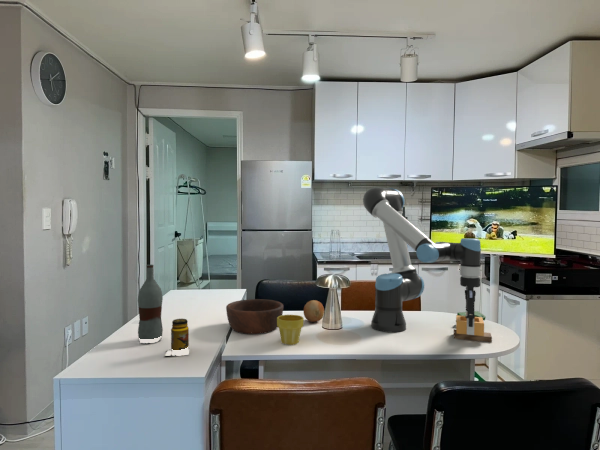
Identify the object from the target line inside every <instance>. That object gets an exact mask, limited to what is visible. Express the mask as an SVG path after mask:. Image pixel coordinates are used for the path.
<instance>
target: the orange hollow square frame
mask: <svg viewBox="0 0 600 450" xmlns="http://www.w3.org/2000/svg"><path fill="white" fill-rule="evenodd" d="M455 319H456V320H455V330H456V332H457V334H467V318H465V316H459V315H457V314H456V315H455ZM484 321H485V320H483V318H482V317H475V318H474V335H478V336H484V332H485V322H484Z"/></svg>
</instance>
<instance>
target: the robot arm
mask: <svg viewBox="0 0 600 450" xmlns="http://www.w3.org/2000/svg"><path fill="white" fill-rule="evenodd" d="M405 201H406V200H405V197H404V195H403V193H402V191H400V190H398V189H395V188H393V187H378V186H376V187H370V188H369V189H367V190H366V191H365V193H364V194H363V198H362V203H363V206H364V208H365V210H366V211H367V212H368V214H370V215H371V217H373V218H378V219H379V220H380V221H381V222H382V224H383V229H384V232H385V236H386V242H387V245H388V246H387V247H388V250H389V255H390V260H391V265H392V269H393V270H392V271H391V272H390V273H382V274H379V275H377V276H376V278H375V285H374V287H375V289H374V290H375V301H374V302H375V303H374V305H375V309H374V312H373V315H372V319H371V321H370V322H371V325H370V327H371V328H372V329H373V330H376V331H380V332H385V333H386V332H387V333H397V332H403V331H405V330H407V322H406V320H405V316H404V313H403V302H406V301H412V300H415V299H417V298H419V297H421V295H422V294H423V293H424V291H425V281H424V279H423V277H422V276H420V274H418V272H417V268H416V267H414V266H413V265H412V261H411V257H410V252H409V249H408V245H409V247H411V249H413V250H414V251H415V252H416V257H417V259H418V260H419V261H420V262H422V263H426V264H427V263H429V264H430V263H431V264H432V263H436V262H443V261H444V262H445V261H457V262H460V265H459V267H460V269H459V275H460V278H459V280H460V284H459V285H460V286H461V287H465V289H464V296H465V312H466V316H465V318H467V334H468V335H474V318H475V316H474V311H475V302H476V294H477V291H476V290H475V288H479V287H481V277H480V276H481V272H482V271H483V269H482V268H481V256H482V255H481V251H482V248H481V240H480V239H479V238H467V237H466V238H461V239H460V241H459V242H450V241H449V242H447V241H436V242H434V241H433V240H432V239H430V238H429V237H428V236H427V235H425V234H424V233H423V232H422V231H421V230H420V229H418V228H417V227H416V226H415V225H414V224H413V223H411V222H410V221H409V220H408V219H407V218H405V217H404V216H403V213H404V212H403V208H404V206H405ZM469 314H471V315H469Z"/></svg>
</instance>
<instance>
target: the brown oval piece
mask: <svg viewBox="0 0 600 450" xmlns="http://www.w3.org/2000/svg"><path fill="white" fill-rule="evenodd" d="M303 315H304V316H303V317H304V318H305V320H307V321H308V322H311V323H315V322H319V321H321V320H322V319H323V318H324V315H325V308H324V306H323V303H322V302H320V301H318V300H316V299H315V300H314V299H313V300H308V301H307V302H306V304H304V307H303Z"/></svg>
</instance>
